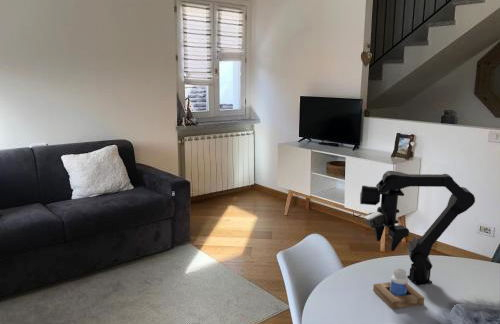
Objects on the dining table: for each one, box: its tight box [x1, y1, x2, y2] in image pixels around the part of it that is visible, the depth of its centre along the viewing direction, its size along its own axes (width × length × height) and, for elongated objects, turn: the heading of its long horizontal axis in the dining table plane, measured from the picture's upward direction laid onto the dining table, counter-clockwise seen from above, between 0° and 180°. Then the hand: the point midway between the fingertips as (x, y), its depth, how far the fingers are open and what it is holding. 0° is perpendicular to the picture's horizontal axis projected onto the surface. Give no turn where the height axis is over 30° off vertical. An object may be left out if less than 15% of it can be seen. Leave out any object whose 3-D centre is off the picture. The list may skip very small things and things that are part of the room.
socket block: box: [372, 281, 425, 310], centre depth 150 cm, size 12×12×2 cm
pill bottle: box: [390, 268, 409, 297], centre depth 149 cm, size 6×5×10 cm
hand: (385, 245), depth 162 cm, fingers open, 9 cm apart
